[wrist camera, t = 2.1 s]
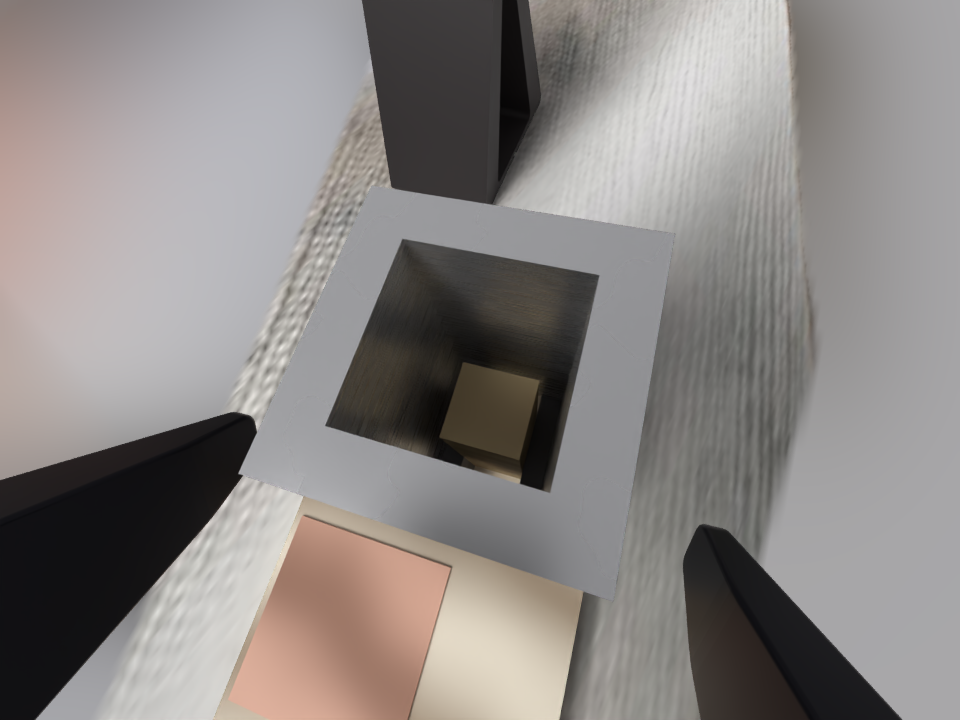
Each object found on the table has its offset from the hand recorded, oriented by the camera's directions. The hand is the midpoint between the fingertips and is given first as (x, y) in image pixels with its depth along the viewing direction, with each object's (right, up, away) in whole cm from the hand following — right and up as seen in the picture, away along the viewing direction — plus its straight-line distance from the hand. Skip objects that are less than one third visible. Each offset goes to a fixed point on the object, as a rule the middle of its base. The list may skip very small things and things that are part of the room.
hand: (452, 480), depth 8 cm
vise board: (-1, -5, +9) cm, 10 cm away
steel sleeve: (+1, 0, +6) cm, 6 cm away
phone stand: (0, +15, +17) cm, 23 cm away
